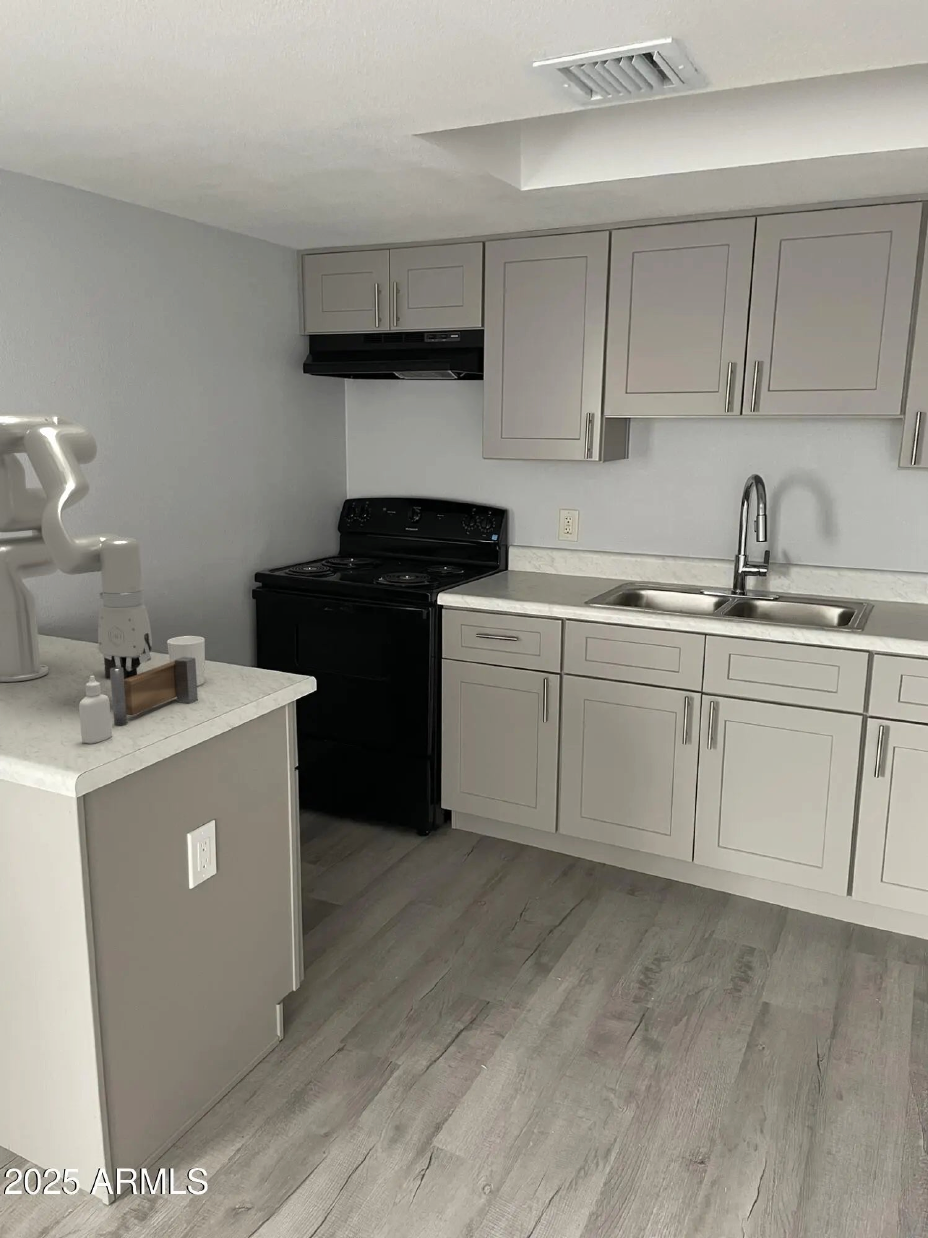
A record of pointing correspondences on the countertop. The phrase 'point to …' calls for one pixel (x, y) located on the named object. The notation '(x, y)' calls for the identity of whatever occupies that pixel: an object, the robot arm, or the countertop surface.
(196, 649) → the white cup
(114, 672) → the grey glass test tube
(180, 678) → the post
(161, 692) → the brown wooden board
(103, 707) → the eye dropper bottle
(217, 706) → the countertop surface
